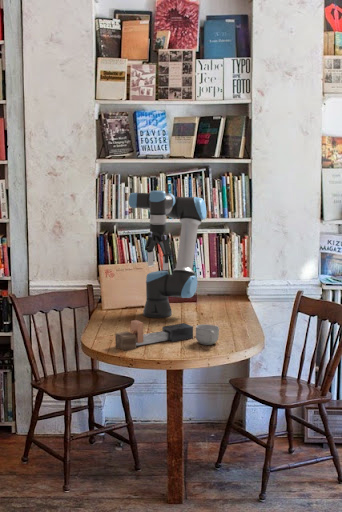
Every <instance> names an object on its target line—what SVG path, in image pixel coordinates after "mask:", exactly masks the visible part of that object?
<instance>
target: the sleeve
mask: <svg viewBox="0 0 342 512" xmlns="http://www.w3.org/2000/svg"><path fill="white" fill-rule="evenodd" d="M161 330H162V331H166V330H167V331H169V332H170V340H169V342H170V343H174V342H179V341H185V340H190V339H193V338H194V332H193V331H194V326H192V325H191V324H190V325H189V324H188V323H184V322H183V323H177V324H175V323H174V324H169V325H165V326H162V329H161Z"/></svg>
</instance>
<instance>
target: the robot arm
mask: <svg viewBox="0 0 342 512" xmlns="http://www.w3.org/2000/svg"><path fill="white" fill-rule="evenodd" d="M128 205H129V207H130V208H131V209H141V210H146V211H149V223H150V224H149V231H150V232H149V231H148V232H147V239H146V243H145V247H144V250H145V251H146V252H147V267H151V266H152V267H153V266H154V248H155V246H156V245H157V244H158V246H159V247H160V250H161V252H162V270H156V271H152V272H149V273H147V275H146V277H145V278H146V279H145V284H146V285H145V287H146V289H145V292H146V293H145V294H146V295H145V296H146V297H145V298H146V300H145V303H144V308H143V313H142V315H143V317H146V318H152V319H155V318H156V319H163V318H168V317H171V316H172V312H173V311H172V307H171V304H170V302H169V297H172V298H182V299H184V298H186V299H189V298H193V296H194V295H195V294H196V291H197V288H198V277H197V276H196V274H195V272H194V270H193V266H194V259H195V254H196V244H197V236H198V228H199V226H200V225H201V224H202V221H203V220H205V219H206V218H207V206H206V202H205V200H204V199H203V198H202V197H196V196H191V197H189V196H175V195H174V194H172V193H171V192H166V191H165V190H151V191H150V192H137V191H136V192H131V193H130V194H129V196H128ZM167 217H168V218H172V219H179V222H180V223H181V227H180V228H181V229H180V237H179V243H178V251H177V258H176V265H175V268H174V269H172V274H171V273H169V271H168V270H169V266H170V265H169V261H170V260H169V258H170V256H172V251H171V247H170V242H169V239H168V238H169V236H168V234H164V233H166V230H167V229H166V228H167V225H166V223H167Z"/></svg>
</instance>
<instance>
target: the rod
mask: <svg viewBox="0 0 342 512" xmlns="http://www.w3.org/2000/svg"><path fill="white" fill-rule="evenodd" d="M130 333H132V334H134V335H136V347H138V346H142V345H148V344H149V345H150V344H155V343H159V342H166V341H170V332H169V331H167V330H166V331H156V332H150V333H144V322H142V321H140V320H137V319H135V320H134V319H133V320H130Z"/></svg>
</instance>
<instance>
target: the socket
mask: <svg viewBox="0 0 342 512" xmlns="http://www.w3.org/2000/svg"><path fill="white" fill-rule="evenodd" d="M114 334H115V335H114V337H115V340H114V341H115V347H116V348H118V349H120V350H122V351H123V352H124V351H129V350H130V351H131V350H135V349H137V346H136V335H134V334H132V333H131V331H126V330H125V331H121V332H120V331H119V332H115V333H114Z"/></svg>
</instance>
